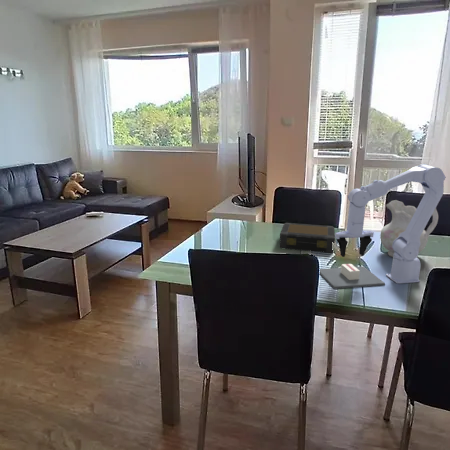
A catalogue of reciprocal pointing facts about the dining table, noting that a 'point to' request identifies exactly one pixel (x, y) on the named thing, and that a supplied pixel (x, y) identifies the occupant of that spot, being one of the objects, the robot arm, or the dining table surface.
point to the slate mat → (341, 281)
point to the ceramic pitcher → (403, 225)
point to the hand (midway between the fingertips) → (352, 255)
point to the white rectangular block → (350, 271)
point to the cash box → (307, 237)
